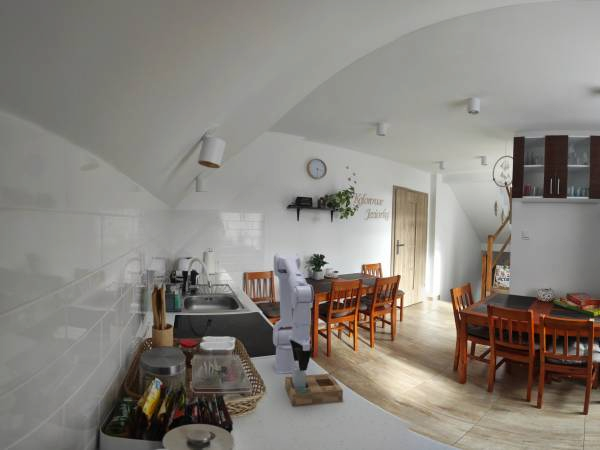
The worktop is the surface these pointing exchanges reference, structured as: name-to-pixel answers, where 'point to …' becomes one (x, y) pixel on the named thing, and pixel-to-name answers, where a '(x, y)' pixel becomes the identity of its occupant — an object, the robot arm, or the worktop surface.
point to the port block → (315, 390)
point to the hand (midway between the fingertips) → (300, 365)
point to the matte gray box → (298, 379)
